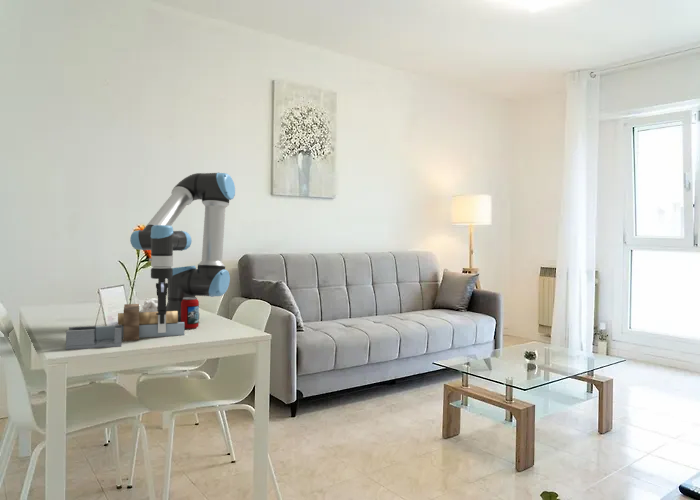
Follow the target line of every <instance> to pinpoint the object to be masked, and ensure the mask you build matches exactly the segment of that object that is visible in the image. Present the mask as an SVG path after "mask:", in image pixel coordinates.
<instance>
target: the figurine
mask: <svg viewBox="0 0 700 500" xmlns="http://www.w3.org/2000/svg"><path fill="white" fill-rule="evenodd" d="M157 307H158V298H155V297H153V298H146V299H145V301H144V303H143V305H142V309H141V310H139V312H158V311H157V310H158V309H157Z"/></svg>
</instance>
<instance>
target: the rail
mask: <svg viewBox="0 0 700 500" xmlns="http://www.w3.org/2000/svg"><path fill="white" fill-rule="evenodd" d="M115 325H116V324H115ZM115 325H95V326H96V340H100V339H115ZM123 332H124V325H123V326H122V340H123ZM184 335H185V329H184V322H181V321H178V323H166V332H165V333H158V324H144V325H139V339H140V338H153V337H155V338H157V337H171V336H172V337H174V336H175V337H176V336H184Z"/></svg>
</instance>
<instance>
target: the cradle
mask: <svg viewBox="0 0 700 500" xmlns="http://www.w3.org/2000/svg"><path fill="white" fill-rule="evenodd" d="M96 326H97V325H87V326H69V327H68V330H66V331H65V350H66V351H69V349H71V350H84V349H86V350H87V349H98V348H99V349H100V348H101V349H102V348H116V347H117V348H118V347H122V344H123V343H122V342H123V339H122V325H118V324H115V339H100V340H96Z"/></svg>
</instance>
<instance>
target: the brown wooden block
mask: <svg viewBox="0 0 700 500" xmlns="http://www.w3.org/2000/svg"><path fill="white" fill-rule="evenodd" d="M139 312H140V303H128V304H127V303H126V304H124V306H123V313H124V332H123V339H122V342H129V341H130V342H131V341H140V338H139Z"/></svg>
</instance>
